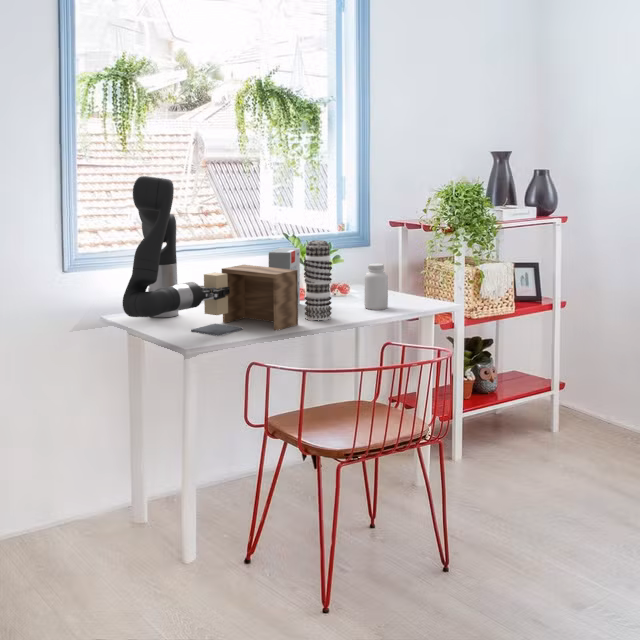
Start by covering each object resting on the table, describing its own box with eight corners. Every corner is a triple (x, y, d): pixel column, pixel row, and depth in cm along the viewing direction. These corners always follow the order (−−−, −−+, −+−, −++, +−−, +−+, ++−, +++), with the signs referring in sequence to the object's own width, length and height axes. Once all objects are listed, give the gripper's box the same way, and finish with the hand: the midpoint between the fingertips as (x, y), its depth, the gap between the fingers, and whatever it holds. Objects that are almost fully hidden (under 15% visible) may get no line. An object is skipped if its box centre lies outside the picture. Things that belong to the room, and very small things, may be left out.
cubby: (276, 330, 290) (275, 274, 287) (222, 322, 303) (221, 268, 299) (297, 324, 299) (297, 270, 296) (244, 317, 311) (243, 264, 308)
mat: (218, 335, 283) (218, 333, 283) (191, 331, 290) (191, 329, 289) (242, 329, 292) (242, 327, 292) (215, 325, 298) (215, 323, 298)
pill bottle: (361, 309, 324) (361, 265, 321) (368, 305, 331) (369, 262, 328) (383, 310, 321) (383, 266, 318) (390, 306, 328) (391, 263, 325)
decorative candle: (299, 320, 306) (298, 242, 301) (310, 314, 315) (309, 239, 310) (326, 321, 303) (326, 243, 298) (336, 316, 311) (336, 240, 306)
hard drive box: (290, 312, 319) (289, 252, 315) (268, 311, 321) (267, 252, 317) (300, 303, 334) (300, 247, 330) (279, 303, 336) (278, 246, 332)
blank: (217, 315, 286) (216, 275, 284) (204, 313, 289) (203, 274, 287) (228, 313, 290) (227, 273, 288) (215, 311, 293) (215, 272, 291)
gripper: (200, 285, 272) (239, 279, 286) (164, 281, 280) (203, 275, 294) (201, 311, 273) (240, 303, 287) (165, 306, 282) (204, 299, 295)
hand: (221, 289), depth 290 cm, fingers closed on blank, 5 cm apart
